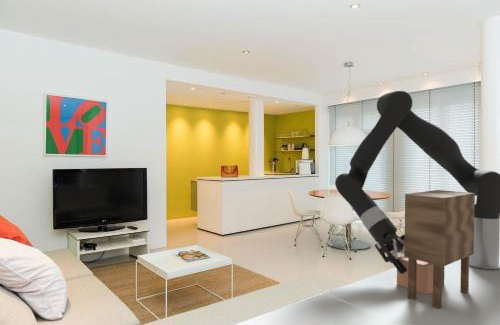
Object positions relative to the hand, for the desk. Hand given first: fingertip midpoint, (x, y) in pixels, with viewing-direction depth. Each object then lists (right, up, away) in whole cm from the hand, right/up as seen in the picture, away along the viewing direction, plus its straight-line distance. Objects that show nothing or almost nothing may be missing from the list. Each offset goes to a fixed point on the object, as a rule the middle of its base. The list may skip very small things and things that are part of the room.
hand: (412, 269), depth 98 cm
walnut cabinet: (+4, -5, -6) cm, 9 cm away
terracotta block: (+1, -5, -1) cm, 5 cm away
